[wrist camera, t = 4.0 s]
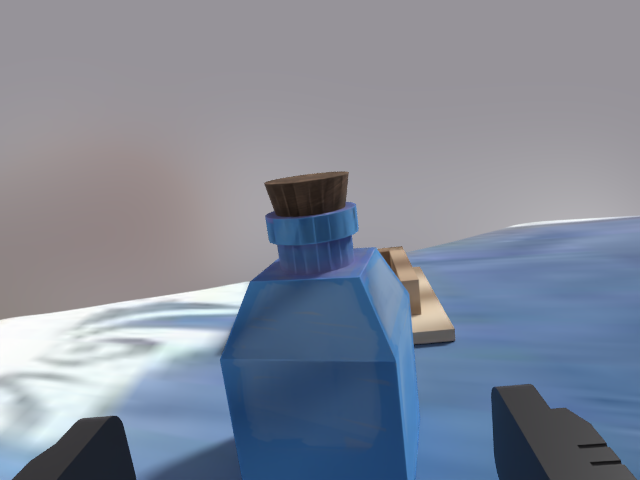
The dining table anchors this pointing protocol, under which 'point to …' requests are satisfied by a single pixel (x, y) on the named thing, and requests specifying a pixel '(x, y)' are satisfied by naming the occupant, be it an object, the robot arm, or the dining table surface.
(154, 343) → the dining table surface
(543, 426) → the robot arm
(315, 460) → the perfume bottle
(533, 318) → the dining table surface
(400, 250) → the u cradle
